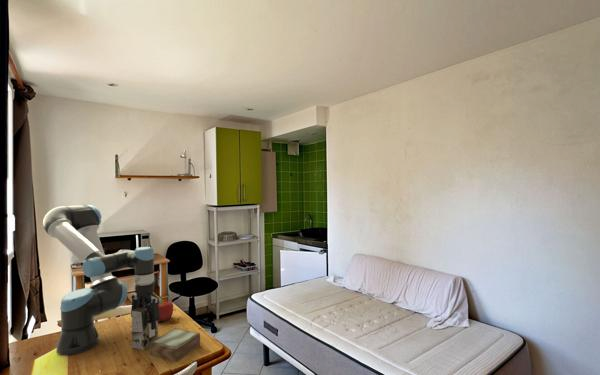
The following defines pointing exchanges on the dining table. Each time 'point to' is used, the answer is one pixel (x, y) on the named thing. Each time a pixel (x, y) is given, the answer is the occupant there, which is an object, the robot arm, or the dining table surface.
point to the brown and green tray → (174, 344)
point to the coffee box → (142, 328)
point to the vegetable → (165, 310)
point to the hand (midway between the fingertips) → (145, 334)
